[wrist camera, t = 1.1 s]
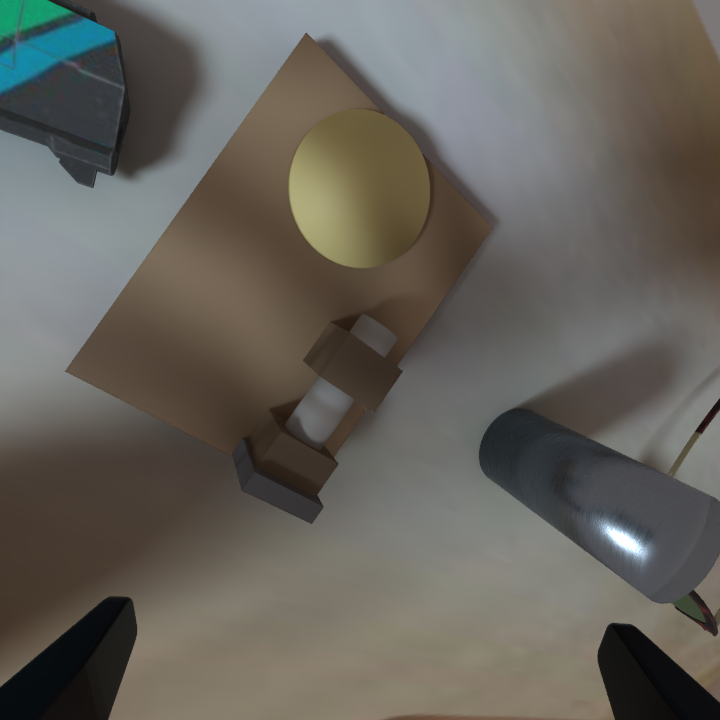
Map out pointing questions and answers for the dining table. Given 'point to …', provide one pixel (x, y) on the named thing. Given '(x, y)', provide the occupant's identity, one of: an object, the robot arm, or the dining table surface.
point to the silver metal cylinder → (606, 503)
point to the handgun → (63, 84)
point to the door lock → (288, 284)
